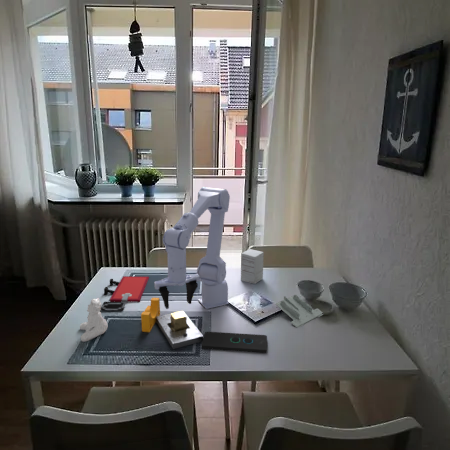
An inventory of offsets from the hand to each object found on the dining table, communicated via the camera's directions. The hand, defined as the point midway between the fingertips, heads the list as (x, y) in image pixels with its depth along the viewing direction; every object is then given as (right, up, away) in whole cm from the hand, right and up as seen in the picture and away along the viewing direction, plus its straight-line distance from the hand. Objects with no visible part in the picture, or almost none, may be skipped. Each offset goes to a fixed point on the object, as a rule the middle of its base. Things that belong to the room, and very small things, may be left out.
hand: (177, 304), depth 121 cm
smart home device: (+18, -12, -4) cm, 22 cm away
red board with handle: (-25, -2, +29) cm, 38 cm away
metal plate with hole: (0, -9, +2) cm, 9 cm away
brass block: (0, -9, +2) cm, 9 cm away
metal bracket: (+41, -7, +14) cm, 44 cm away
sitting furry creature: (-27, -9, +1) cm, 29 cm away
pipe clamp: (-11, -8, +8) cm, 15 cm away
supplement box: (+27, +2, +43) cm, 51 cm away
